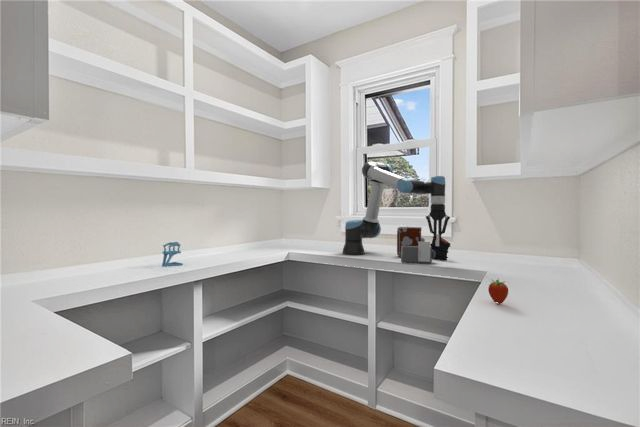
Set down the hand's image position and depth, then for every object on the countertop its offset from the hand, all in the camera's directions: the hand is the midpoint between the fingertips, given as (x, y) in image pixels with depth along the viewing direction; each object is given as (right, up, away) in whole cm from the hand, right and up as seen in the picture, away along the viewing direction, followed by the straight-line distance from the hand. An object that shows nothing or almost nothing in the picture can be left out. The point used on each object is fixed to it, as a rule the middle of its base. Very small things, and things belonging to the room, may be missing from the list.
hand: (437, 245), depth 174 cm
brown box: (-5, -11, +30) cm, 32 cm away
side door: (-7, -9, +1) cm, 11 cm away
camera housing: (-9, -10, +6) cm, 15 cm away
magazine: (+8, -11, +18) cm, 23 cm away
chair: (-142, -9, -14) cm, 143 cm away
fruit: (-10, -10, -77) cm, 78 cm away
